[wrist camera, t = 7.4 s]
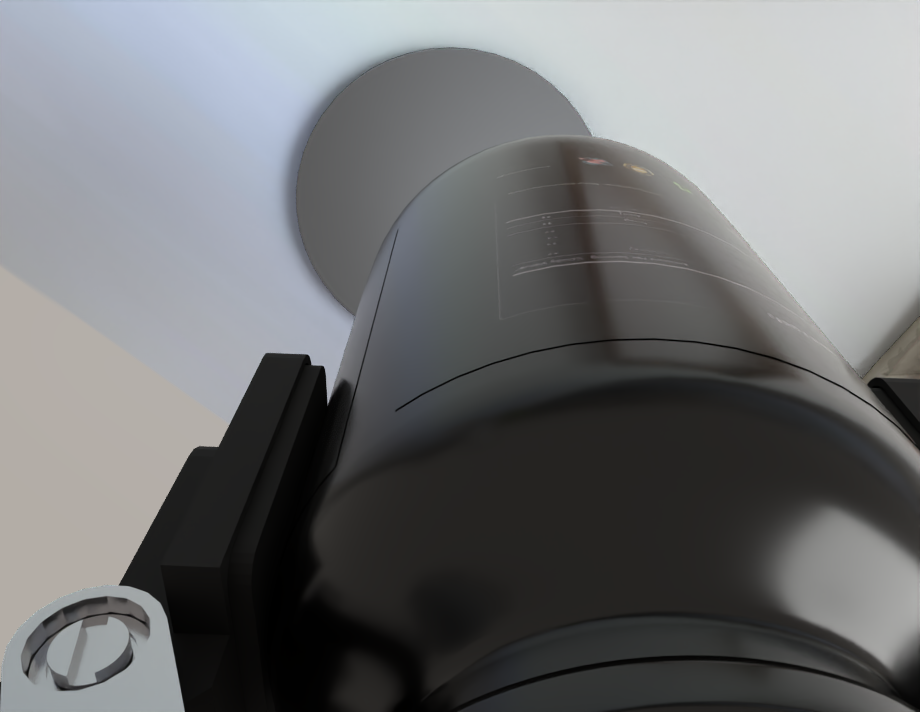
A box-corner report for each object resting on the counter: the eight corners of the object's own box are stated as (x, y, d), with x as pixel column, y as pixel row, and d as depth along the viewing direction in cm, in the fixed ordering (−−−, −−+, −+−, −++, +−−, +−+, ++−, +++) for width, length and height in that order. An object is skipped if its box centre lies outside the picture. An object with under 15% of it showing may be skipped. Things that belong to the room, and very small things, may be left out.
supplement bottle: (658, 489, 17) (932, 1431, 6) (339, 414, 16) (67, 1327, 6) (808, 180, 14) (1852, 1066, 3) (417, 70, 13) (120, 733, 3)
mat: (620, 49, 29) (622, 51, 28) (592, 346, 34) (593, 352, 34) (284, 45, 29) (281, 47, 28) (311, 342, 35) (309, 347, 34)
